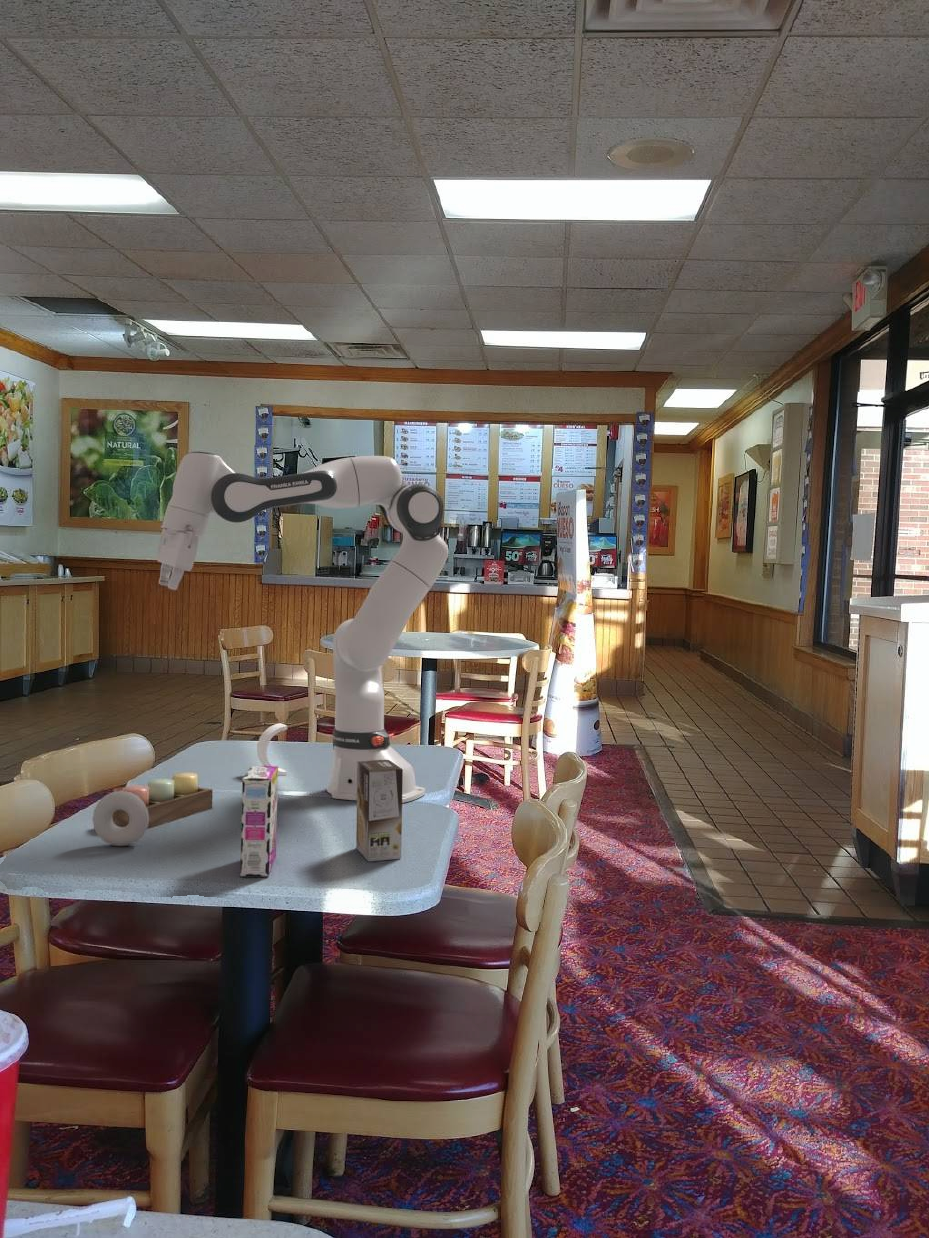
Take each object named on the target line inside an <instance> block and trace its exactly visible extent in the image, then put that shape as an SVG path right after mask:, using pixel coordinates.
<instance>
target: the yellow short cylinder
mask: <svg viewBox="0 0 929 1238" xmlns="http://www.w3.org/2000/svg"><path fill="white" fill-rule="evenodd" d="M198 778H199V777H198V774H197V773H195V772H182V773H175V774H172V778H171V780H173V781H174V794H180V795H189V794H193V793H196V792H198V787H199V786H198V785H199V784H198V782H199V781H198V780H199V779H198Z"/></svg>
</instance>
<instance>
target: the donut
mask: <svg viewBox="0 0 929 1238" xmlns="http://www.w3.org/2000/svg"><path fill="white" fill-rule="evenodd" d="M117 810H124V811H126V812H127V813H128V815H129V818H130V821H129V824H128V825H127V826H125V827H118V826H116V825H115V824H114V822H113V819H112V816H113V813H114V812H115V811H117ZM92 823H93V829H94V830H95V833H96V834H97V836H98V837H99V838H100V839H101V840H102V841H103V842H105V843H107V844H109V845H110V846H115V847H116V846H117V847H125V846H129V845H132V844H133V843H136V842H138V841H139V840H140V839H141V838H142V837H143V836H144V835H145V833H146V832H147V827H148V823H149V813H148V809H147V807H146V805H145V803H144V802H143V801H142V800H141V799H140V798H139V797H138V796H137V795H135V794H133V793H131V792H126V791H122V790H119V791H118V790H117V791H112V792H110V793H108V794H106V795H104V796H103V797H102V798H101V799H100V800H99V801H98V802H97V804H96V806H95V807H94V810H93V813H92Z"/></svg>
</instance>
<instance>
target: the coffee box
mask: <svg viewBox="0 0 929 1238" xmlns="http://www.w3.org/2000/svg"><path fill="white" fill-rule="evenodd" d="M402 783H403V769H402V768H400V767H399V766H397V765H396V764H394V763H393V762H391V761H390V760H371V761H360V762H357V800H356V832H355V833H356V836H355V837H356V840H355V841H356V842H355V843H356V844H355V848H356V850H357V851H358V853H360V854H361V855H362V857H364V858H365V860H367V862H377V861H380V862H381V861H389V860H400V859H402V834H403V833H402V830H403V826H402V825H403V803H402Z"/></svg>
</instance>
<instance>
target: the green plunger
mask: <svg viewBox="0 0 929 1238" xmlns="http://www.w3.org/2000/svg"><path fill="white" fill-rule="evenodd" d="M147 787H149V800H150V801H155V802H165V801H168V800H172V799H174V781H173V780H172V779H170V778H169V779H168V778H157V779H152V780H149V781H147Z"/></svg>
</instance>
